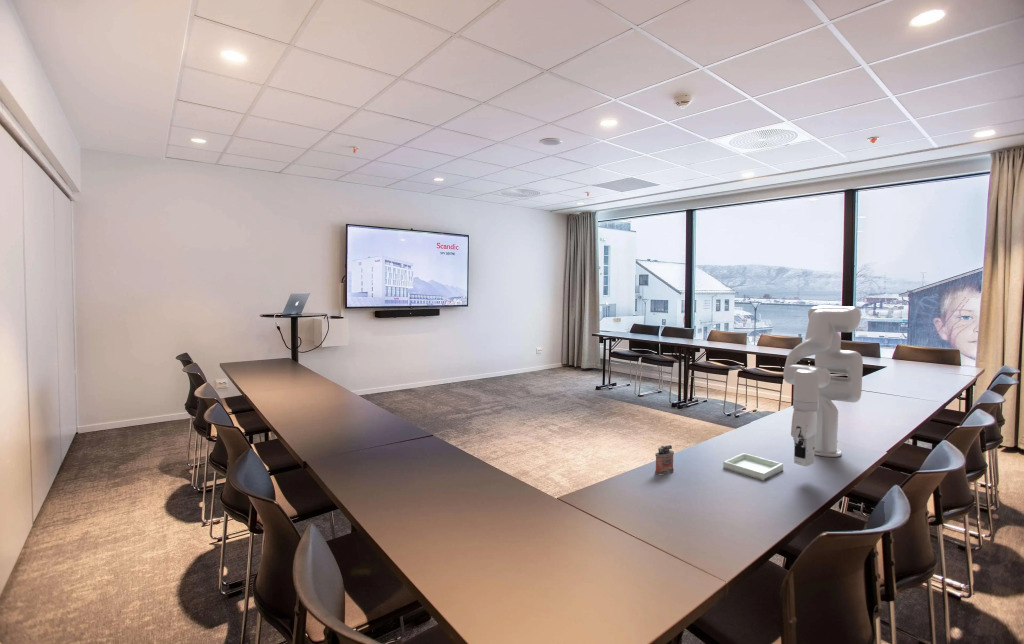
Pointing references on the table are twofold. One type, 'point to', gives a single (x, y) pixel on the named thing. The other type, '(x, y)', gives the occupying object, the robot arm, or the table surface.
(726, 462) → the sage tray
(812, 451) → the skincare box
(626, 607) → the table surface
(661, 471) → the lighter
